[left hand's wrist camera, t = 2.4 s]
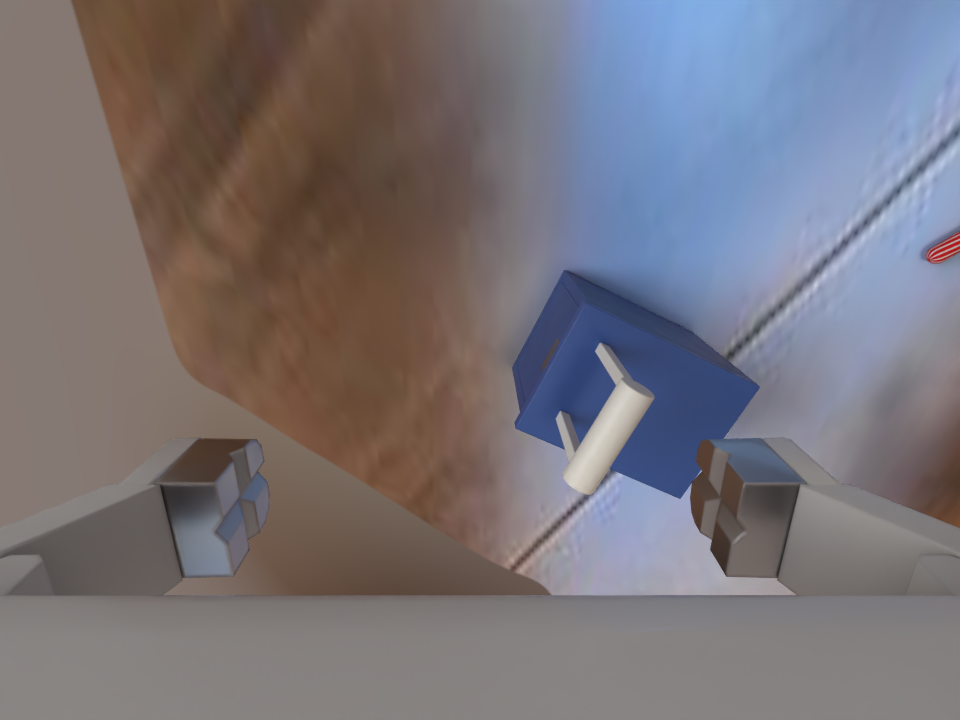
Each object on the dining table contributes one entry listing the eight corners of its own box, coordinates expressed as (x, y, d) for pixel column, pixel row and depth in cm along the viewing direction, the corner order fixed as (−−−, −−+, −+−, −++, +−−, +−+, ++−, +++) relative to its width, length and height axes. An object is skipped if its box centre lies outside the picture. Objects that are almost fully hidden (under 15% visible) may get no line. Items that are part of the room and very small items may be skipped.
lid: (514, 422, 37) (525, 500, 28) (582, 299, 34) (618, 346, 25) (675, 491, 39) (731, 584, 30) (753, 381, 36) (839, 449, 27)
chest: (511, 367, 47) (521, 425, 37) (564, 269, 44) (590, 302, 34) (634, 422, 49) (675, 491, 39) (692, 332, 46) (753, 381, 36)
